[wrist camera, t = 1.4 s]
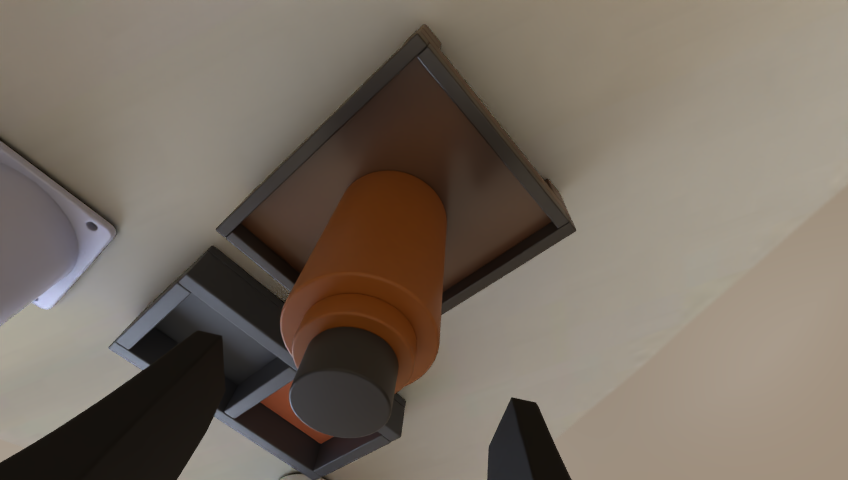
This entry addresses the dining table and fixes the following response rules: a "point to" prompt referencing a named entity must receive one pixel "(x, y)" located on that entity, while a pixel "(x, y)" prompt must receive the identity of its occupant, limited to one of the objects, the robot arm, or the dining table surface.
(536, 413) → the robot arm
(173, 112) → the dining table surface
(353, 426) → the bottle
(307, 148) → the wooden footed tray
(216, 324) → the divided grey tray
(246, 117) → the dining table surface
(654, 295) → the dining table surface
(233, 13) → the dining table surface
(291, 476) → the pill bottle
